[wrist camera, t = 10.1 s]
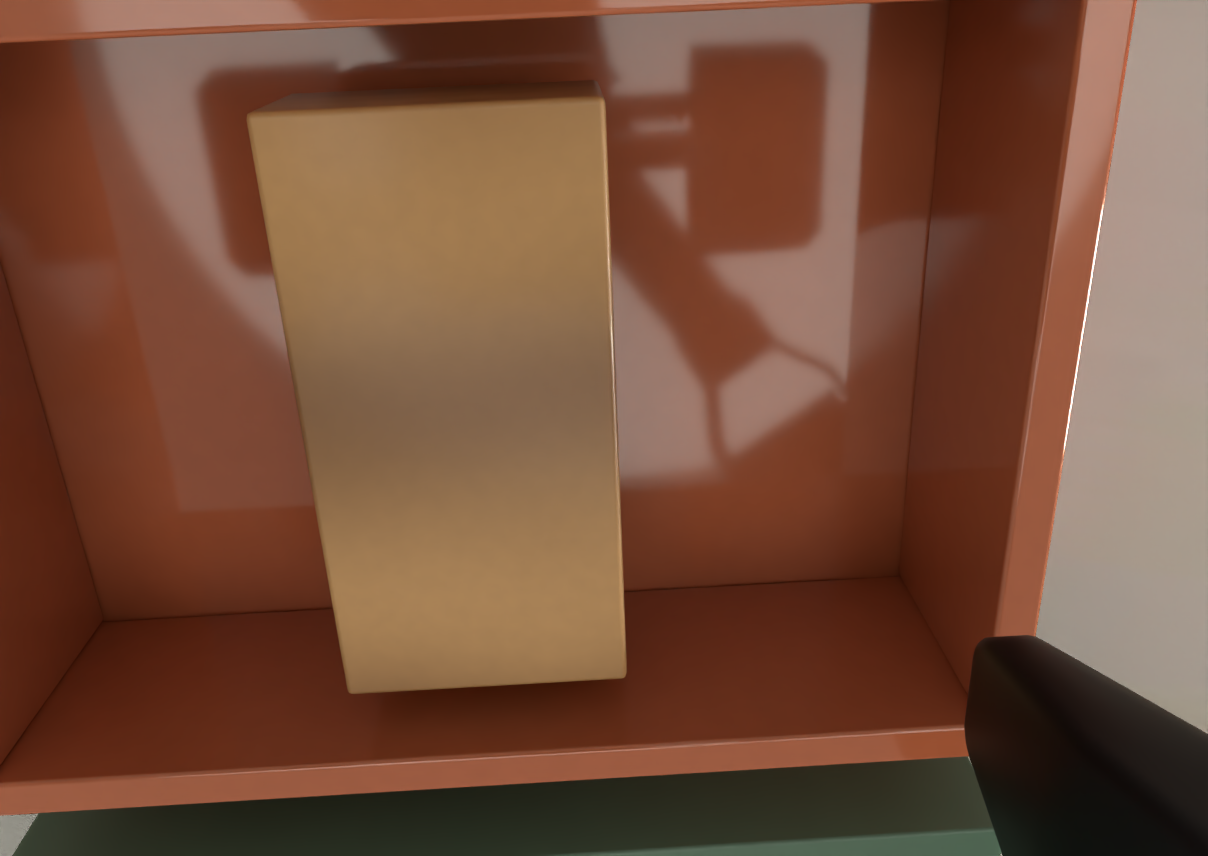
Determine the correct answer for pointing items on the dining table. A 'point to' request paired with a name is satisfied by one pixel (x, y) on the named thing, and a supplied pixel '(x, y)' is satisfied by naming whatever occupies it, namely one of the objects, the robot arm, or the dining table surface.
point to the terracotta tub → (643, 384)
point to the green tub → (571, 818)
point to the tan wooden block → (454, 374)
